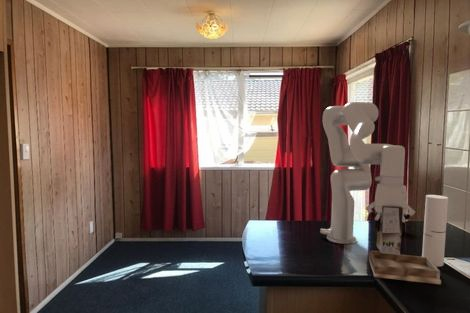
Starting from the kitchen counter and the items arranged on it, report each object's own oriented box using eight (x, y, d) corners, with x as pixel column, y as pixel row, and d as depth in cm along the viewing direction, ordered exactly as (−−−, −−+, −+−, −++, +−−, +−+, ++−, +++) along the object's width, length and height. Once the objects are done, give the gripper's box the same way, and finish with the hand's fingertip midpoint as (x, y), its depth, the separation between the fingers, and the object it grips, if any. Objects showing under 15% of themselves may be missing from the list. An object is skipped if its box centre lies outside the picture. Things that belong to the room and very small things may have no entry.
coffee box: (401, 255, 119) (403, 208, 118) (380, 253, 120) (383, 206, 119) (394, 246, 128) (396, 202, 127) (375, 245, 129) (377, 201, 128)
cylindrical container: (443, 268, 127) (447, 199, 125) (420, 263, 131) (425, 197, 129) (443, 261, 133) (448, 196, 131) (422, 257, 137) (426, 194, 135)
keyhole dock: (374, 276, 118) (375, 266, 118) (368, 259, 134) (369, 250, 134) (440, 284, 114) (441, 273, 113) (427, 265, 129) (427, 255, 129)
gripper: (366, 181, 121) (363, 232, 122) (421, 183, 117) (418, 237, 118) (363, 178, 128) (361, 226, 129) (416, 180, 124) (413, 230, 125)
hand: (388, 231), depth 124 cm, fingers closed on coffee box, 6 cm apart
